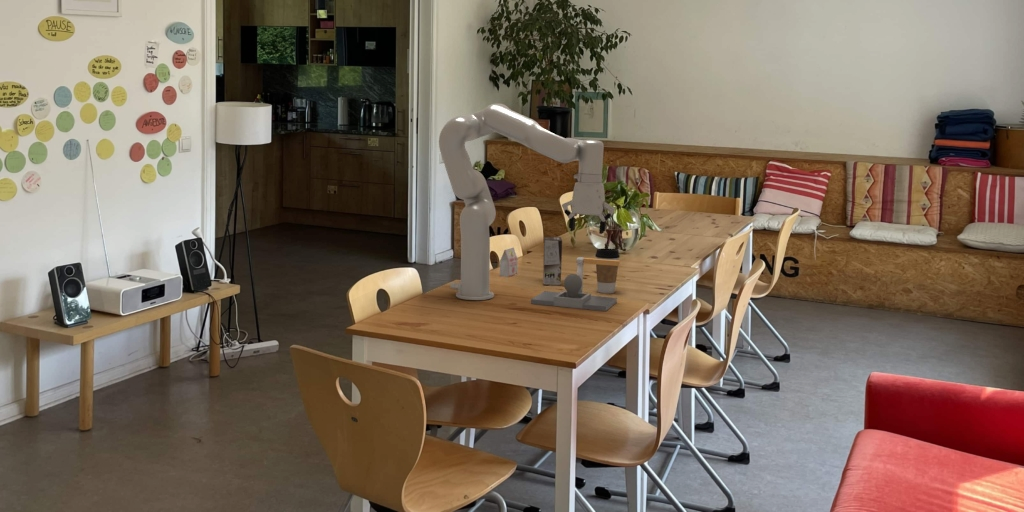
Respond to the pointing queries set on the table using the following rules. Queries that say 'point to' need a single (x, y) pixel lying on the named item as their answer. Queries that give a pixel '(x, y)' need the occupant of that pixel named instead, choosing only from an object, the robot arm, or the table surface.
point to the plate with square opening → (580, 302)
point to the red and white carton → (508, 263)
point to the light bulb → (572, 285)
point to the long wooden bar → (598, 261)
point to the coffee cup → (606, 270)
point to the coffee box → (552, 260)
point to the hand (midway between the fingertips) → (586, 232)
